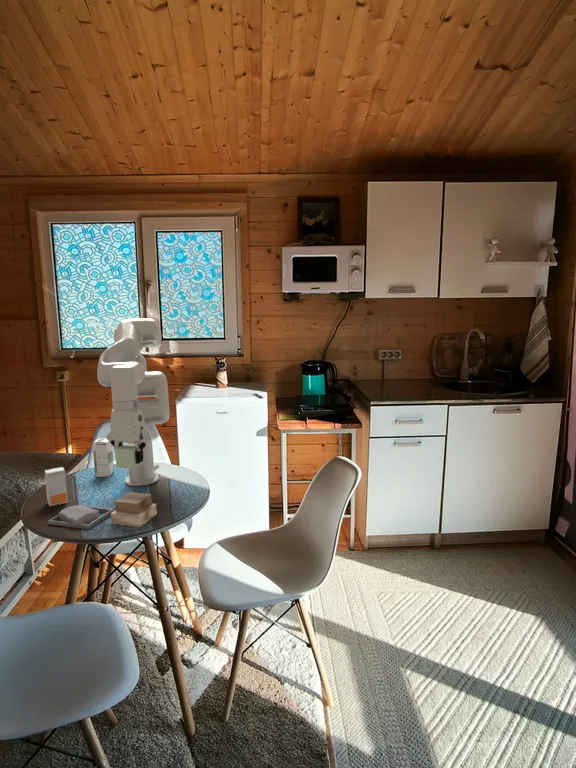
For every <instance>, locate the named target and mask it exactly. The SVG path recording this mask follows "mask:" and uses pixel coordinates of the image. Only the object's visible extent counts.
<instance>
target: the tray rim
mask: <svg viewBox="0 0 576 768" xmlns="http://www.w3.org/2000/svg"><path fill="white" fill-rule="evenodd" d="M74 506H79V505H77V504H74ZM87 507H89V508H92V509H96V510H99V513H103V514H102V515H101V516H99V517H98V519H96V520H95V521H93V522H90V523H88V524H77V525H76V527H74V524H73V523H70V522H63V521H61V520H60V519H59V514H58V515H55V516H54V517H52V518H50V519H48V520H47V524H48V525H53V526H60V527H67V528H68V527H69V528H77V529H83V530H90V529H92V528H93V527H94V526H96V525H97V524H99V523H100V522H102V521H103V520H105V519H107V518H108V517H109V516H111V513H112V512H114V511H115V510H114V509H113V508H105V507H104V508H103V507H95V506H87Z"/></svg>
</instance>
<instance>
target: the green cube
mask: <svg viewBox="0 0 576 768" xmlns="http://www.w3.org/2000/svg"><path fill="white" fill-rule="evenodd" d="M135 451H137V450H136V448H135V446H134V444H129V443H126V442H125V443H123V445H122V446H119V447H117V448H115V449H114V453H115V455H114V457H115V466H116V468H119V469H120V468H121V469H128V468H131V469H134V468H135V467H137V466H139V465H141V464H142V463H144V455H143V461H142V462H140V463H139V464H136V458H135Z"/></svg>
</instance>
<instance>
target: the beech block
mask: <svg viewBox="0 0 576 768" xmlns="http://www.w3.org/2000/svg"><path fill="white" fill-rule="evenodd" d="M157 510H158V509H157V503H153V502H152V505H151V506H149V507H148V508H146V509H145V510H144V511H142V512H141V513H139V514H138V515H137V514H128V513H120V512H116V509H115V510H113V511H114V512H112V513H111V515H110V518H111V519H110V520H111V525H115V524H120V525H119V526H124V525H127V526H126V527H132V526H135V527H134V528H141V527H143V526H144V525H145V524H146V523H147V522H149V521H150V520H152V518H154V517H155V516H157V515H158V511H157ZM143 524H144V525H143Z"/></svg>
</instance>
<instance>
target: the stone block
mask: <svg viewBox="0 0 576 768" xmlns="http://www.w3.org/2000/svg"><path fill="white" fill-rule="evenodd" d="M89 507H90V506H88V507H87V506H86V505H83V504H82V505H81V504H80V505H79V506H75V505H72V506H68V507H66V508H64V509H62V510H61V511H59V512H58V515H59V519H58V520H59V521H62V522H70V523H73V524H74V527H73V528H75V527H76V525H77V524H87V525H88V524H90V523H91V522H93V521H95V520H96V519H98V518H99V517H100V512H99V510H96V509H92V508H89Z"/></svg>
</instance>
